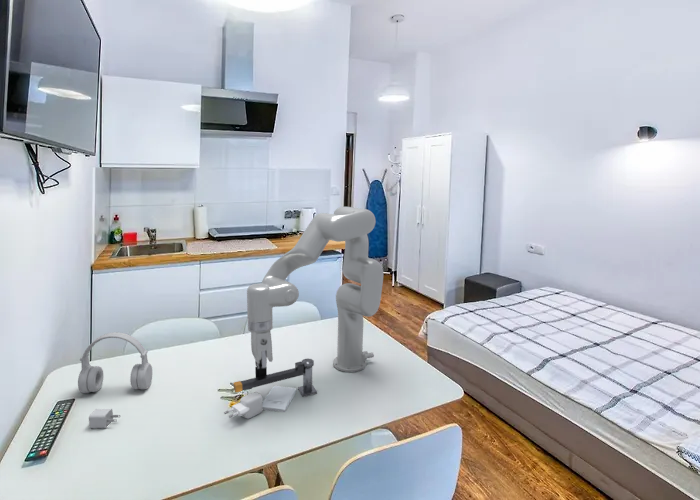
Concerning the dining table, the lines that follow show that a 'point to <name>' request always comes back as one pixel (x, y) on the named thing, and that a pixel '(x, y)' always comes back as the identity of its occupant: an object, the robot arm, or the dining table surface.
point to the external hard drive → (279, 398)
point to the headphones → (93, 375)
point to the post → (307, 383)
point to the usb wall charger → (101, 418)
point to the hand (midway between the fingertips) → (261, 378)
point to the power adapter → (247, 406)
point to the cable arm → (274, 376)
